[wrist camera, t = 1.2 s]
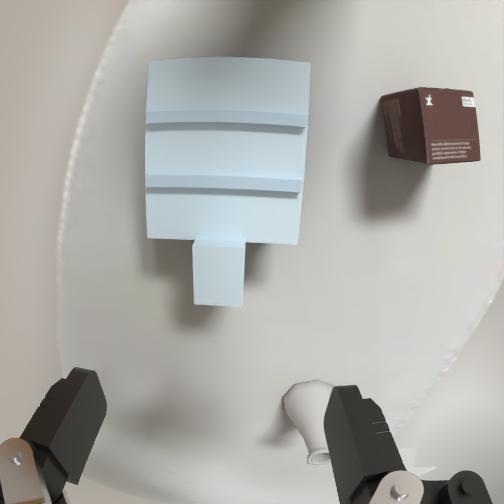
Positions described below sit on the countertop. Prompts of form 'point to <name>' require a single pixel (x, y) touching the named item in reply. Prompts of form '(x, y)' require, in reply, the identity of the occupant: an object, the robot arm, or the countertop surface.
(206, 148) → the lid
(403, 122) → the box
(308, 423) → the flask
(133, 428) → the countertop surface
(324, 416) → the robot arm
